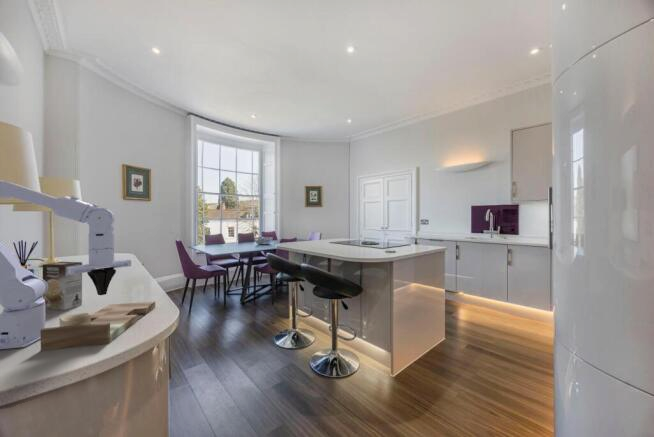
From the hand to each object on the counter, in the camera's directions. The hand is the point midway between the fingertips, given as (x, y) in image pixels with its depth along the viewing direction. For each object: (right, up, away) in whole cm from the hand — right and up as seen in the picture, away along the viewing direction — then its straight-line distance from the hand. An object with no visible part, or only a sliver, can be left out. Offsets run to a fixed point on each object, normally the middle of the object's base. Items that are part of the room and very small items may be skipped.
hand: (101, 294), depth 77 cm
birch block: (0, -7, -8) cm, 11 cm away
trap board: (+1, -9, +1) cm, 9 cm away
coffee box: (-29, -10, +17) cm, 35 cm away
